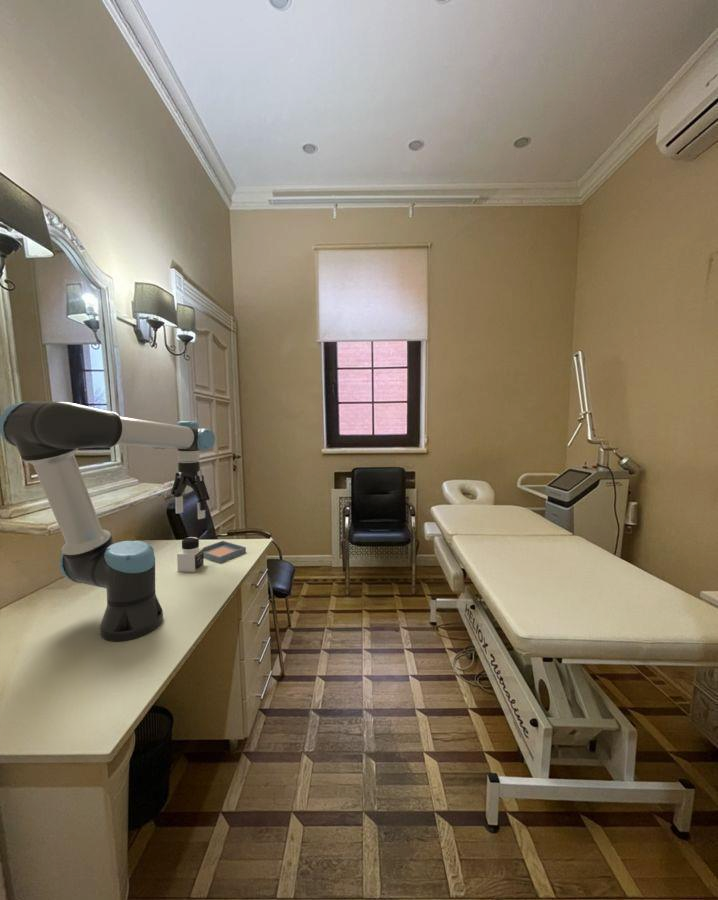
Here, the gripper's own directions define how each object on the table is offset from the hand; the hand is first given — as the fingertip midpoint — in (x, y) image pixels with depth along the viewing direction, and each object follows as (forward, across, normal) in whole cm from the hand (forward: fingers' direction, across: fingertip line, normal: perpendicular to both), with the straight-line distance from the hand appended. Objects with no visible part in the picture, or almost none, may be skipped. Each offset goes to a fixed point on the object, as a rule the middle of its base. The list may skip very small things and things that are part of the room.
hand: (190, 515), depth 140 cm
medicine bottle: (+21, 0, 0) cm, 21 cm away
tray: (+21, +2, -16) cm, 27 cm away
